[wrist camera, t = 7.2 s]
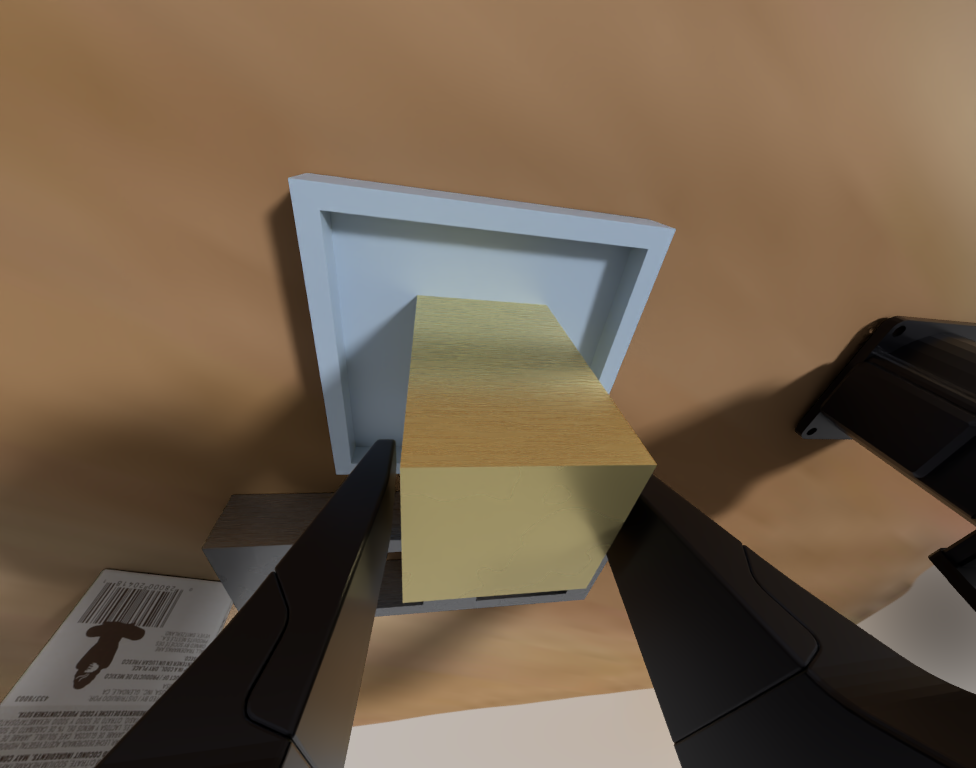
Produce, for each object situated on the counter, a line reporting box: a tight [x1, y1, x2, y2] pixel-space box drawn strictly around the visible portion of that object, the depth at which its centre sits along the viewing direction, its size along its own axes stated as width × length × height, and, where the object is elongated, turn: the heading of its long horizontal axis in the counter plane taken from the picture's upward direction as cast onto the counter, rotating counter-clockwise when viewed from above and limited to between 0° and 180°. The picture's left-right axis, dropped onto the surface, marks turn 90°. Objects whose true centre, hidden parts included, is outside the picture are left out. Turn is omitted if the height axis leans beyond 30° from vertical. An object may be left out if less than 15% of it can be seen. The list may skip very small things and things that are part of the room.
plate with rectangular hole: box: [202, 492, 608, 617], centre depth 18 cm, size 18×7×2 cm, turn 82°
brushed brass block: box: [400, 295, 657, 603], centre depth 9 cm, size 4×4×7 cm
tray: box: [288, 173, 676, 475], centre depth 12 cm, size 10×10×2 cm
